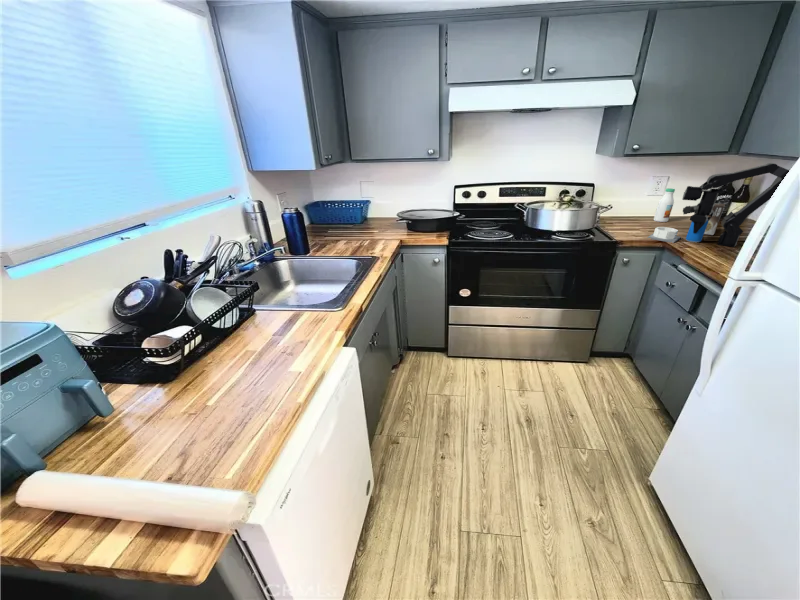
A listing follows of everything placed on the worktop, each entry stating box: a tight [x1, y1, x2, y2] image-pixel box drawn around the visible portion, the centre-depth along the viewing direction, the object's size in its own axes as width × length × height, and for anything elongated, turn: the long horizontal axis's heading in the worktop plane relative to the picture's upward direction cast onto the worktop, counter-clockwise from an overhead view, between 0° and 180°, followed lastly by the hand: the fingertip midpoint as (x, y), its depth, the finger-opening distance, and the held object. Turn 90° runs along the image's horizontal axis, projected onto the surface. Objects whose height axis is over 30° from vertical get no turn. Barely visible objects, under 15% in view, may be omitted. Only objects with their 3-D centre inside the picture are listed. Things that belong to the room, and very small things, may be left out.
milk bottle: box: [653, 188, 676, 223], centre depth 213 cm, size 8×8×20 cm
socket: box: [647, 226, 681, 244], centre depth 183 cm, size 12×12×5 cm
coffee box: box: [704, 202, 726, 236], centre depth 188 cm, size 9×6×16 cm
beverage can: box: [685, 219, 708, 244], centre depth 175 cm, size 6×6×12 cm
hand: (696, 231), depth 176 cm, fingers closed on beverage can, 6 cm apart
